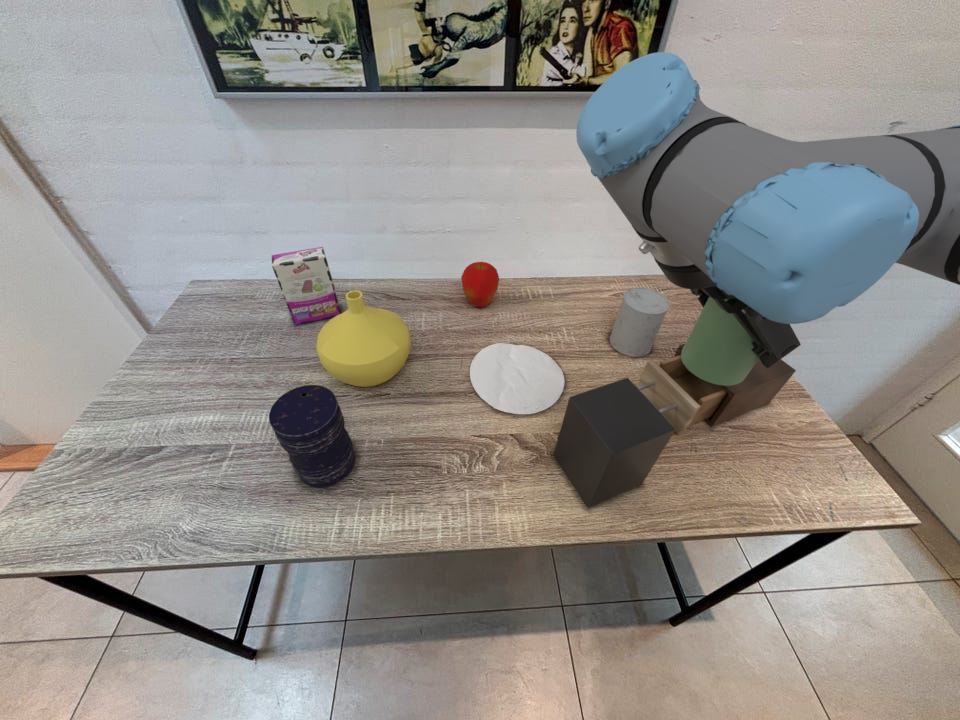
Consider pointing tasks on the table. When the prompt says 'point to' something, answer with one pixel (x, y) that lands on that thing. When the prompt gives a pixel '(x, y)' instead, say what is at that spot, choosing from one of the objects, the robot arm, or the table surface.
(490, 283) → the apple
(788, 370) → the cabinet
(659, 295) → the grey concrete cylinder
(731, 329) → the tin
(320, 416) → the dark blue cylinder
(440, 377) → the table surface
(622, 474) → the riser
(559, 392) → the plaque
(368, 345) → the vase
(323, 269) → the candy bar box
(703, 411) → the drawer
